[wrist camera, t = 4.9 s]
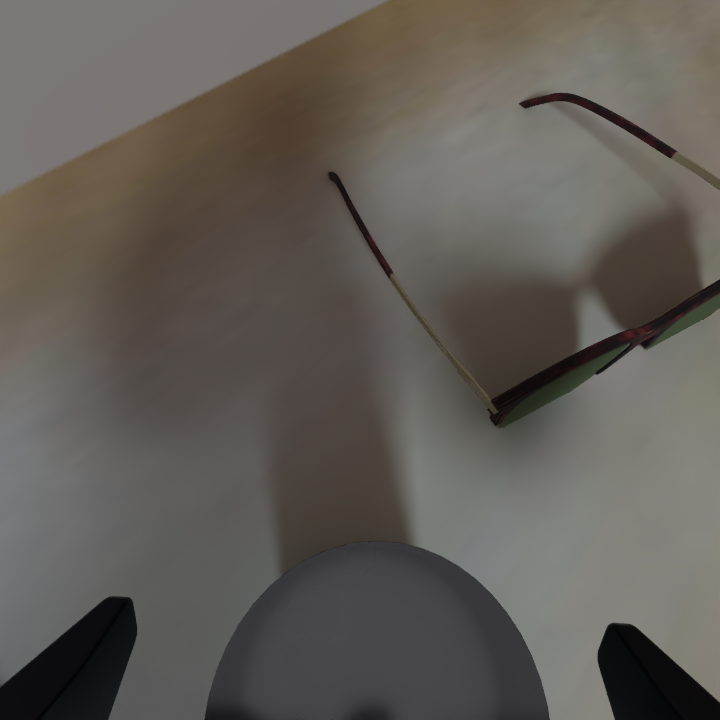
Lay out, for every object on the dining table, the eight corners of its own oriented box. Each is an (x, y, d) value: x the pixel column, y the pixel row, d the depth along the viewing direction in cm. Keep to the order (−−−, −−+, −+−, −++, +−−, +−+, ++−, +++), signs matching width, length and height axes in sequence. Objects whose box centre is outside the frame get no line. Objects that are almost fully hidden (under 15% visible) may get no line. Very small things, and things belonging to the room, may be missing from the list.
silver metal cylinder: (453, 626, 15) (623, 735, 6) (351, 746, 14) (374, 1111, 5) (358, 519, 17) (382, 477, 7) (256, 620, 15) (130, 721, 6)
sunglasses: (462, 454, 18) (497, 407, 14) (304, 203, 24) (291, 114, 20) (728, 309, 21) (827, 233, 17) (529, 119, 27) (563, 25, 23)
